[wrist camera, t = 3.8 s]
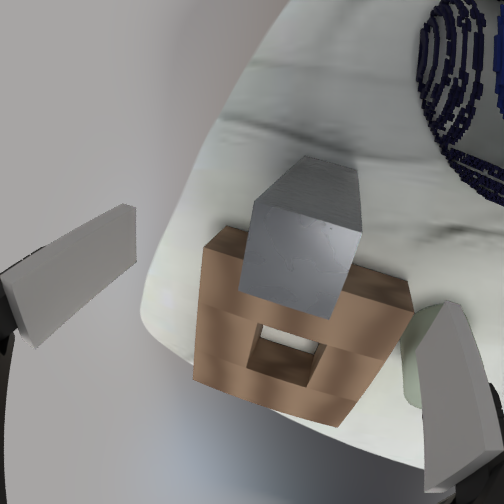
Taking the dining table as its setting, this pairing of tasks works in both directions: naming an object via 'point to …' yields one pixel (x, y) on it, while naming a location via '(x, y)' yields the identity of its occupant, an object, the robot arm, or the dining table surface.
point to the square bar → (304, 237)
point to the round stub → (409, 345)
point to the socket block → (300, 324)
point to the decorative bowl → (462, 90)
